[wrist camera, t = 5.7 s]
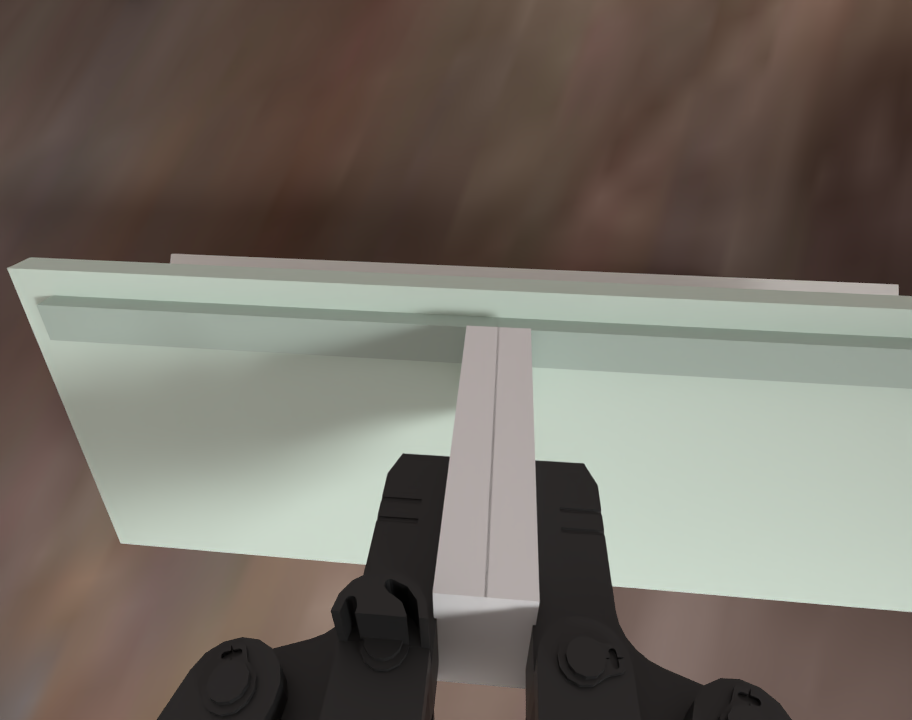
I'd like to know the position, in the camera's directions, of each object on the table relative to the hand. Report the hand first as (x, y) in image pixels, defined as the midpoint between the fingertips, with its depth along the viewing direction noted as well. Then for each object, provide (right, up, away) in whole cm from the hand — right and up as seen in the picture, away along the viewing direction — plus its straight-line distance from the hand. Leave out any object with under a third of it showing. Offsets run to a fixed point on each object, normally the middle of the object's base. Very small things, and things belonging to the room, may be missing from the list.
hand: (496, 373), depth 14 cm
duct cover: (+1, -2, +3) cm, 4 cm away
